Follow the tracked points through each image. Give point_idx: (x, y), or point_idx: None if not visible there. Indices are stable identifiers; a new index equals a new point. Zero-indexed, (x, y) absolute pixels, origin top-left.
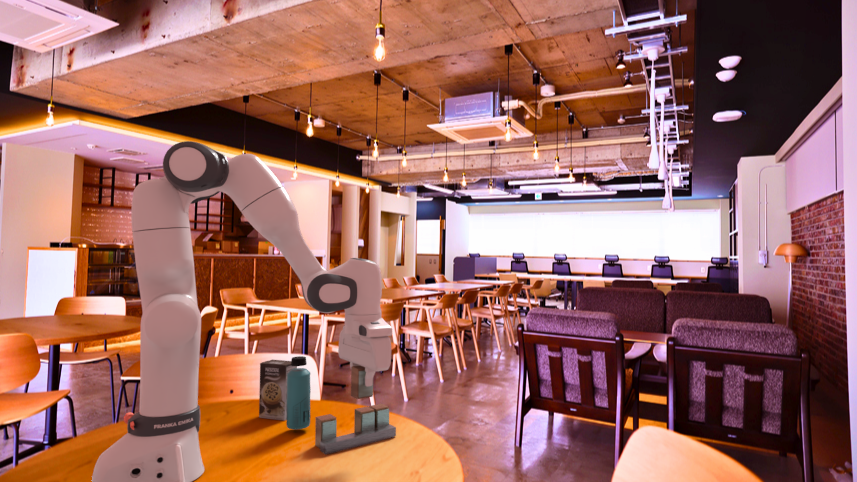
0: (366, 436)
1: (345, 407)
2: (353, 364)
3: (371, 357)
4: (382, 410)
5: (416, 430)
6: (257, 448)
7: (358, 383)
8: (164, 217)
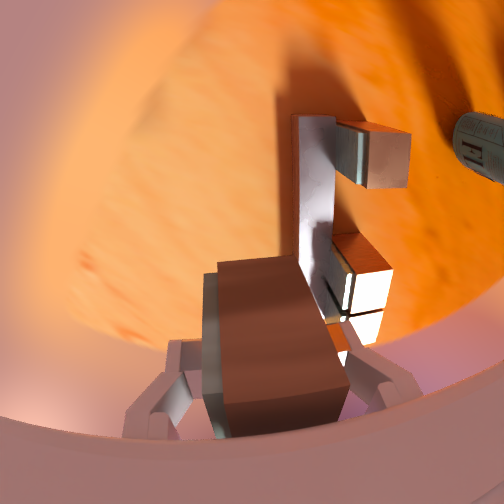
0: (297, 245)
1: (485, 278)
2: (380, 401)
3: (8, 497)
4: None
5: None
6: (421, 13)
7: (218, 322)
8: None
